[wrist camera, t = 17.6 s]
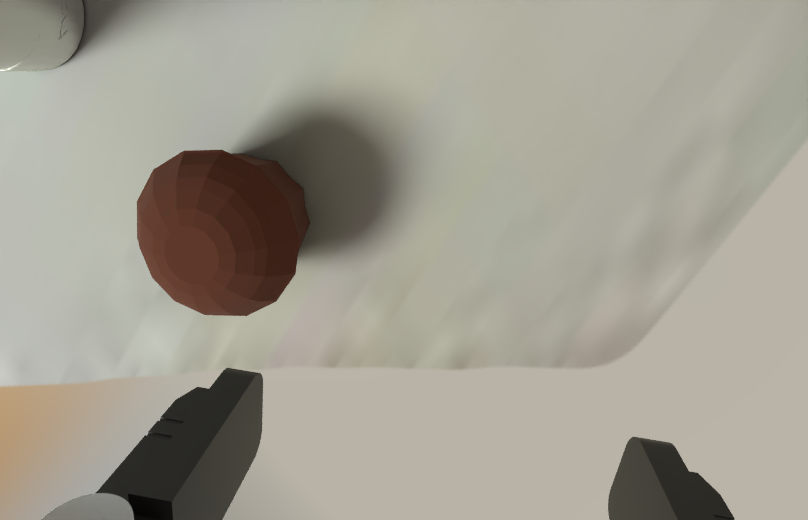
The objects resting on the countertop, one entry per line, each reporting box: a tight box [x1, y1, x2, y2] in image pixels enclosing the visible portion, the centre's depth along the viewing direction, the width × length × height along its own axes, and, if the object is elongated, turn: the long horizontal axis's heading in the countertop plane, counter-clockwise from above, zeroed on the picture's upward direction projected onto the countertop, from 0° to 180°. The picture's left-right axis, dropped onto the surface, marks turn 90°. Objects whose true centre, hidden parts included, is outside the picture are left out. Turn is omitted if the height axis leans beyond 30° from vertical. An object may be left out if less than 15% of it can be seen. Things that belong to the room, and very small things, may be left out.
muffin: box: [137, 150, 310, 316], centre depth 35 cm, size 12×11×10 cm
